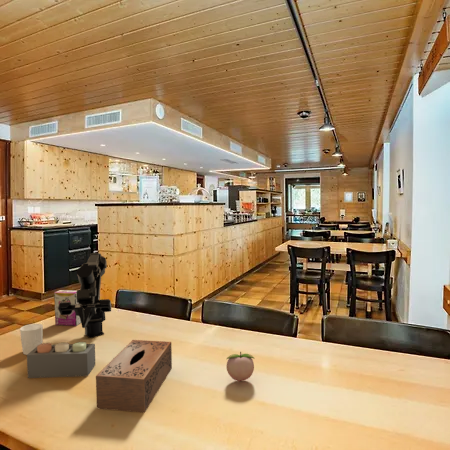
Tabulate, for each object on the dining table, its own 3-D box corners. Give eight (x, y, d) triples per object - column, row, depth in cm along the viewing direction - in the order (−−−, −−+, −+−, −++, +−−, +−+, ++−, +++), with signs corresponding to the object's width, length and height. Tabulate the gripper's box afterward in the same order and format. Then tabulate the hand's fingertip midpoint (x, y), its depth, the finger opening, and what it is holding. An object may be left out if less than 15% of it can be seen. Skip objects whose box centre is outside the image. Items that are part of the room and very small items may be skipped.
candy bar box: (54, 325, 164) (53, 292, 163) (60, 322, 169) (59, 289, 168) (76, 326, 163) (75, 292, 162) (82, 322, 168) (80, 290, 167)
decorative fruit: (231, 390, 106) (230, 359, 106) (224, 377, 114) (223, 348, 113) (258, 386, 109) (258, 355, 108) (250, 373, 117) (250, 345, 116)
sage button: (75, 354, 121) (75, 342, 121) (88, 353, 121) (87, 341, 121) (70, 360, 117) (70, 347, 117) (83, 359, 117) (83, 347, 117)
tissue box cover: (133, 366, 123) (132, 339, 122) (171, 369, 121) (171, 341, 120) (96, 409, 97) (95, 375, 97) (144, 413, 95) (143, 379, 95)
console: (39, 366, 123) (38, 345, 122) (95, 364, 124) (94, 343, 123) (27, 377, 115) (26, 355, 114) (87, 376, 116) (87, 353, 115)
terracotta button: (41, 355, 121) (41, 343, 120) (54, 354, 121) (53, 342, 121) (35, 361, 116) (34, 348, 116) (48, 360, 116) (47, 347, 116)
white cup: (26, 357, 130) (25, 332, 129) (17, 352, 135) (16, 327, 134) (47, 350, 136) (46, 326, 136) (38, 345, 141) (37, 322, 140)
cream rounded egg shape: (58, 354, 121) (58, 342, 121) (71, 354, 121) (70, 342, 121) (53, 360, 117) (52, 347, 116) (66, 360, 117) (65, 347, 116)
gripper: (58, 281, 129) (51, 319, 119) (109, 279, 133) (107, 315, 123) (64, 296, 137) (58, 333, 127) (112, 293, 141) (110, 328, 131)
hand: (83, 327), depth 127 cm, fingers closed
